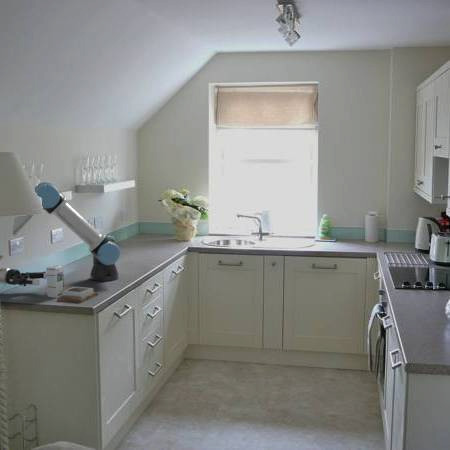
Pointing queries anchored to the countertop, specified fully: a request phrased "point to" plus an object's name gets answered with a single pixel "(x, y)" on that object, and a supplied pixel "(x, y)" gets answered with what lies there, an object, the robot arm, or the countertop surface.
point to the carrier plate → (76, 300)
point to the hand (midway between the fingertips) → (47, 279)
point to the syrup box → (55, 281)
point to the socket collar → (77, 292)
